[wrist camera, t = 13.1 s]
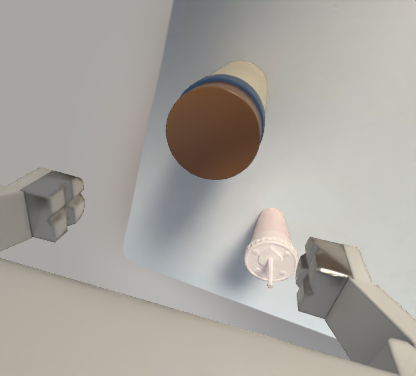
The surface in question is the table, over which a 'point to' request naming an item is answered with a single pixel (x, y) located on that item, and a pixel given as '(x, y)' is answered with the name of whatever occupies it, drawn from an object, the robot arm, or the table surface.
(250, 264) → the smoothie
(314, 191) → the table surface
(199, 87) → the brown lid
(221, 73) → the bottle
